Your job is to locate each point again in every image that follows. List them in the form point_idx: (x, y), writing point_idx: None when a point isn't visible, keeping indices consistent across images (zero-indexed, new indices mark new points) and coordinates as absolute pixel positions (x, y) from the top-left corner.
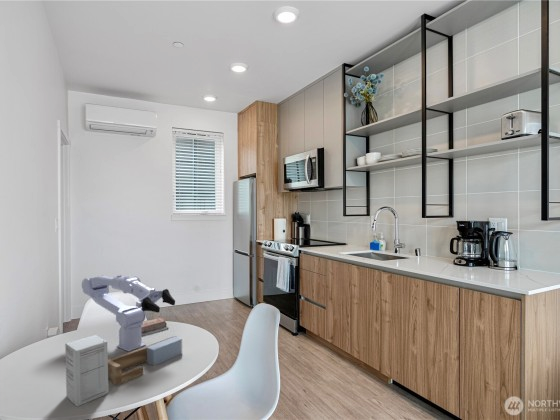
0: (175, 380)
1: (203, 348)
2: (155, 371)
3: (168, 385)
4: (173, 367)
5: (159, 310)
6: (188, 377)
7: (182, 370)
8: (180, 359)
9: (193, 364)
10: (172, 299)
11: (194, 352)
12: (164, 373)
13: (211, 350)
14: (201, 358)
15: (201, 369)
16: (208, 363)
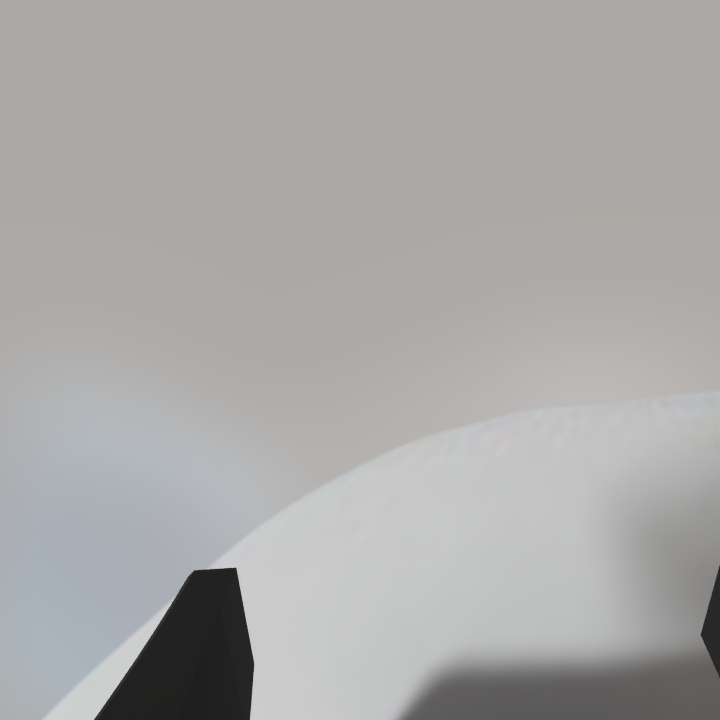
0: (633, 441)
1: None
2: None
3: (691, 425)
4: (563, 592)
5: (709, 605)
6: (555, 420)
7: (536, 508)
8: (446, 670)
9: (434, 522)
10: (217, 605)
11: (284, 688)
12: (659, 563)
13: None
14: (338, 552)
15: (445, 440)
16: (366, 466)
